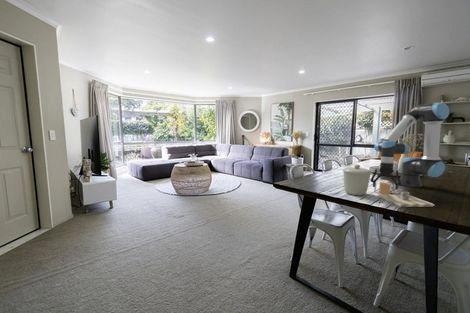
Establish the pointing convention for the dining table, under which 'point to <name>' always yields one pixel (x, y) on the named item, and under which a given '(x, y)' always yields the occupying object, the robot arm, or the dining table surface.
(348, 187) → the canister
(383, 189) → the orange block
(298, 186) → the dining table surface
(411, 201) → the cream flat piece
